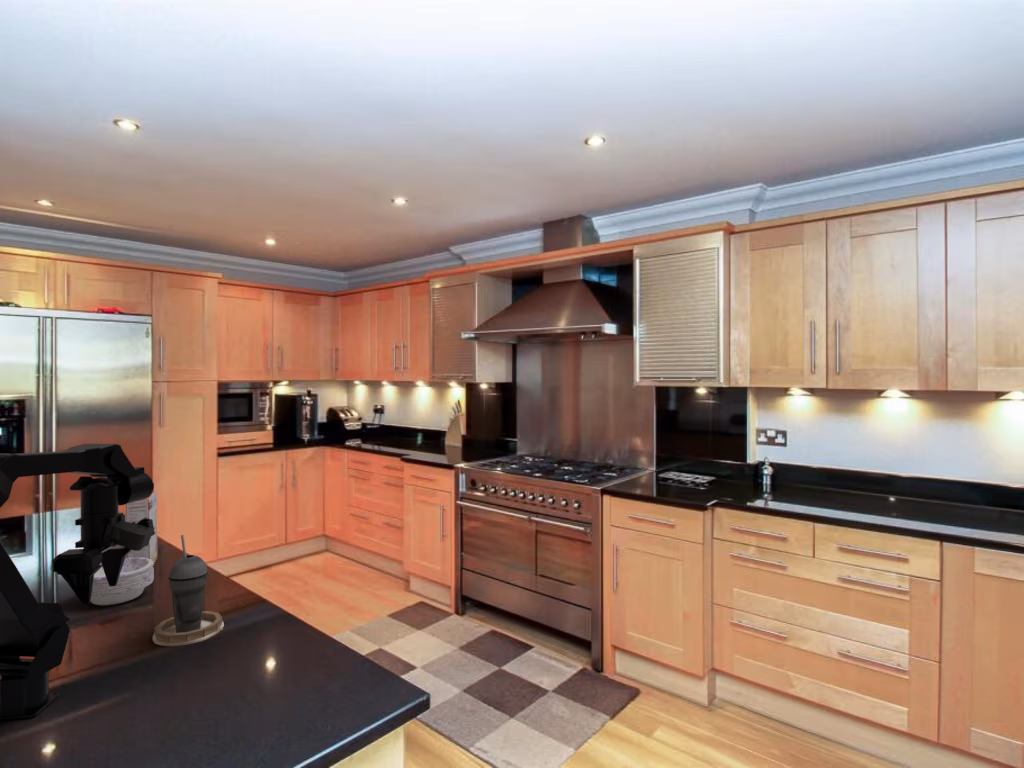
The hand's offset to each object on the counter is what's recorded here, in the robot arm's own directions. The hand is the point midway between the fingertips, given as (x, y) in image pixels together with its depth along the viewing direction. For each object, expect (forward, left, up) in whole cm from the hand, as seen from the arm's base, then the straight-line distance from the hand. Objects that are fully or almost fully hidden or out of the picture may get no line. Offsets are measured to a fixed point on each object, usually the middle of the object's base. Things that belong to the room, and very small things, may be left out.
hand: (100, 594), depth 105 cm
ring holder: (+12, -11, -13) cm, 21 cm away
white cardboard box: (+61, +19, -13) cm, 65 cm away
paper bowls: (+36, +14, -13) cm, 41 cm away
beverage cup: (+12, -11, -13) cm, 20 cm away
